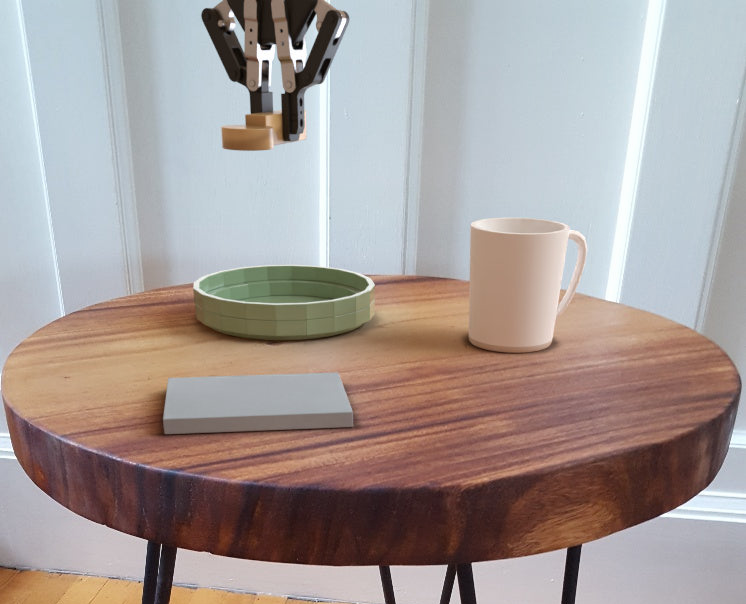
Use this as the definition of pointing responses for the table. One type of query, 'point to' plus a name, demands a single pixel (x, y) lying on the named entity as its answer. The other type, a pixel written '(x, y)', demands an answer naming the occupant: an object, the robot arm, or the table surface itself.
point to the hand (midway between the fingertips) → (278, 139)
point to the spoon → (257, 132)
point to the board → (256, 403)
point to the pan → (284, 301)
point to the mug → (519, 281)
